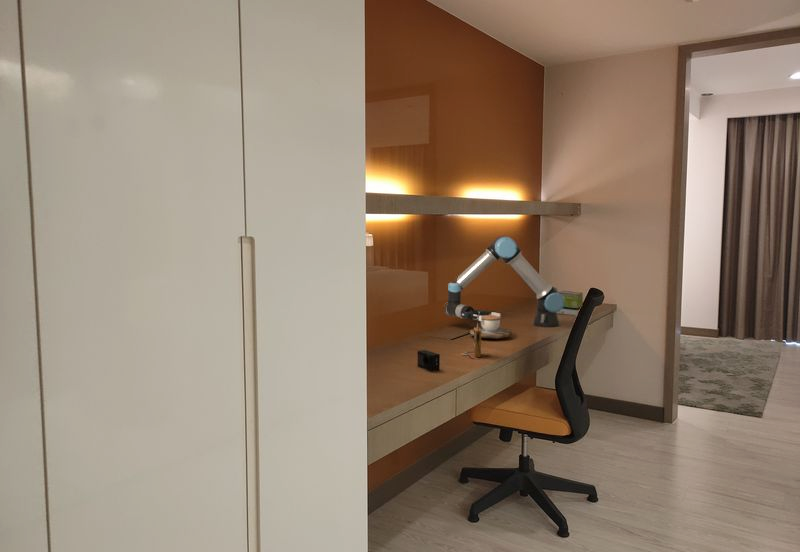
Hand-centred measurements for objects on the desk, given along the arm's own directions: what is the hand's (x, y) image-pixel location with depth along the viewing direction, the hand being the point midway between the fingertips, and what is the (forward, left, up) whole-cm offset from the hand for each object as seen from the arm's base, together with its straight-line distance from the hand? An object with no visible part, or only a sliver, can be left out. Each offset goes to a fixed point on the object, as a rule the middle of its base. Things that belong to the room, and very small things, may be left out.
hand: (491, 317), depth 332 cm
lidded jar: (0, -1, -8) cm, 8 cm away
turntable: (0, -1, -9) cm, 9 cm away
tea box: (-99, -29, -11) cm, 104 cm away
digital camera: (+69, +32, -11) cm, 77 cm away
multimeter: (+38, +25, -11) cm, 47 cm away
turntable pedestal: (0, -1, -11) cm, 11 cm away
